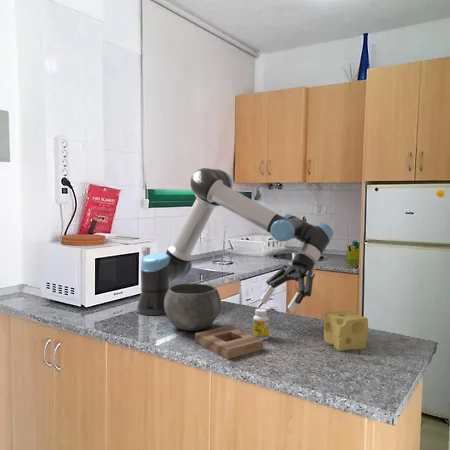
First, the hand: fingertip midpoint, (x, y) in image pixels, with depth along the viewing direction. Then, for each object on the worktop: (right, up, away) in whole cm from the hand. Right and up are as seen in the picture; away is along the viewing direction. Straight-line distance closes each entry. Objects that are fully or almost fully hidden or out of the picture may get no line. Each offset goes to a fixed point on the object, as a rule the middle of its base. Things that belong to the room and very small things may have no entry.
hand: (275, 305), depth 147 cm
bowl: (-30, -10, +7) cm, 32 cm away
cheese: (+22, -11, -8) cm, 26 cm away
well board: (-17, -11, -10) cm, 22 cm away
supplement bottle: (-5, -11, -2) cm, 12 cm away
